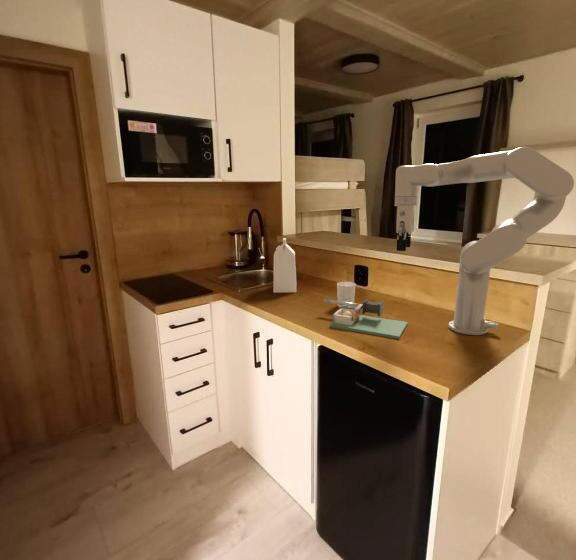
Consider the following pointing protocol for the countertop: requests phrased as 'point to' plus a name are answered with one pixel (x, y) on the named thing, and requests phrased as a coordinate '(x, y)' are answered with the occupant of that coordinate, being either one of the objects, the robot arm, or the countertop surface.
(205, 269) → the countertop surface
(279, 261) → the milk
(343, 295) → the white cup
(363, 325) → the board
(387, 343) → the countertop surface
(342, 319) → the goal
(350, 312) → the ball
